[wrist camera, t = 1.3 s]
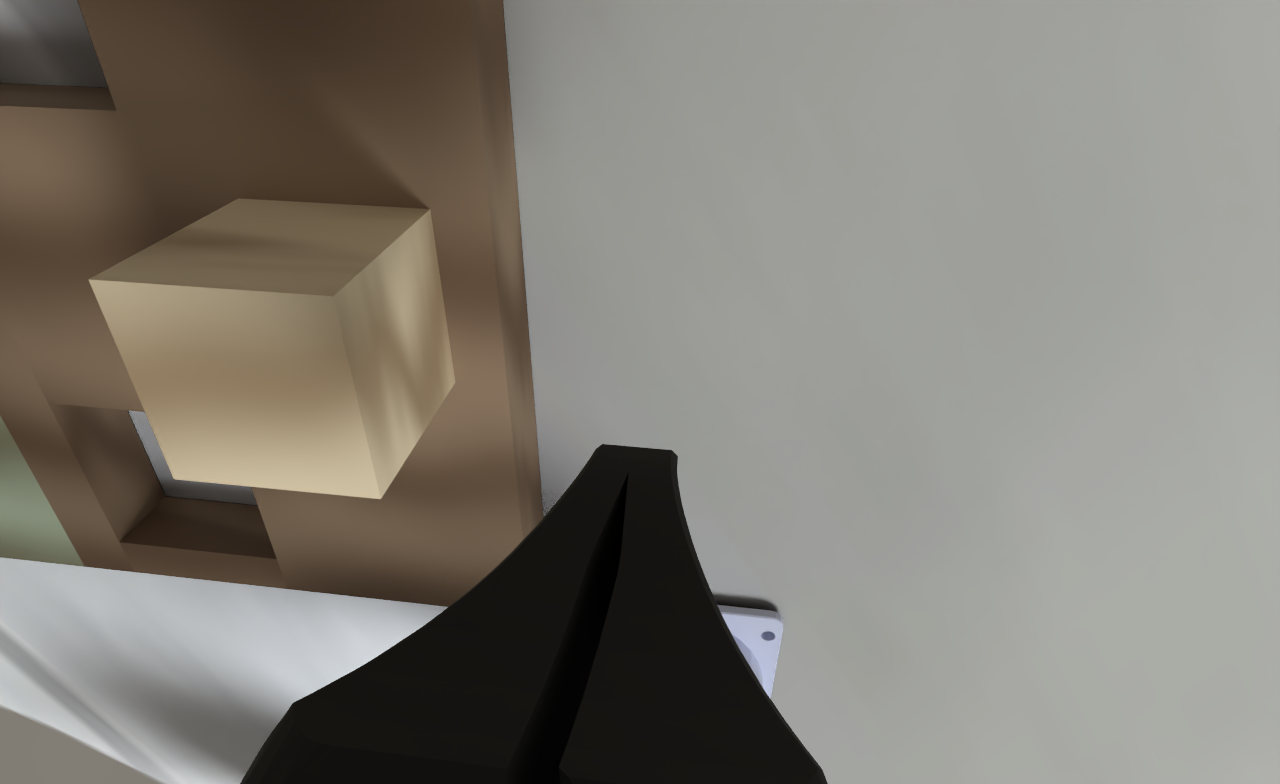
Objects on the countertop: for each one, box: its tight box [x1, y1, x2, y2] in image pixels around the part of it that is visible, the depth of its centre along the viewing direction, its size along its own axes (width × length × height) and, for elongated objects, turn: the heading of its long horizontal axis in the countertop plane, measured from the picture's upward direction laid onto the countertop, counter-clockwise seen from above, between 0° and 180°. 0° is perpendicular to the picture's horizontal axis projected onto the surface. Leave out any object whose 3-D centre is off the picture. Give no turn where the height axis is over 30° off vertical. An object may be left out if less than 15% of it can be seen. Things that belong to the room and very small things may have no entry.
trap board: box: [0, 0, 543, 607], centre depth 21 cm, size 24×24×2 cm
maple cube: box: [88, 198, 455, 499], centre depth 17 cm, size 5×5×5 cm
